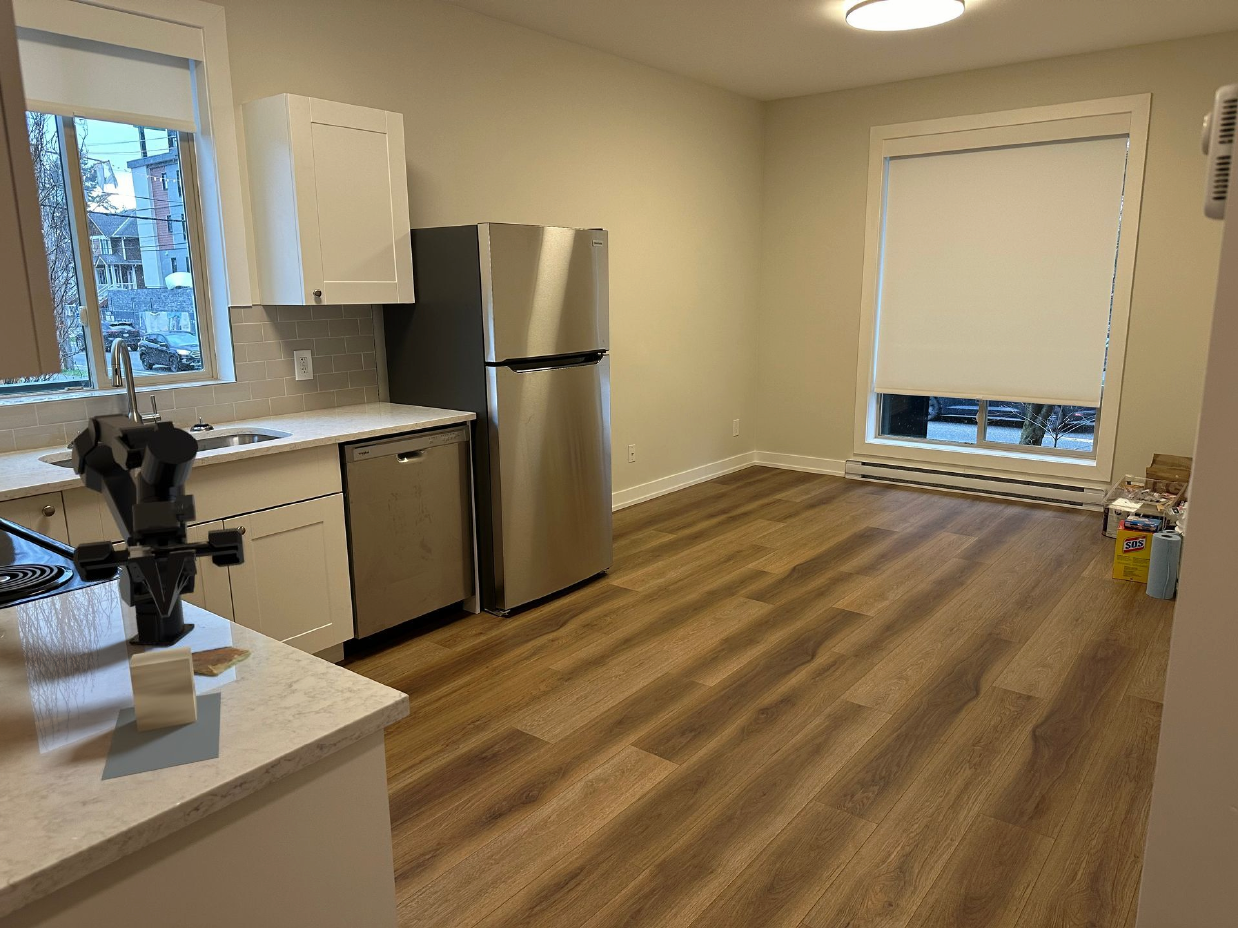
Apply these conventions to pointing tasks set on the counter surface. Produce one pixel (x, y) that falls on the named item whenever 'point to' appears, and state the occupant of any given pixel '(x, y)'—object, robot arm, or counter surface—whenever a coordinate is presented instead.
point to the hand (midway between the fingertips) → (165, 615)
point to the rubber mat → (164, 741)
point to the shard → (218, 659)
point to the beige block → (163, 688)
